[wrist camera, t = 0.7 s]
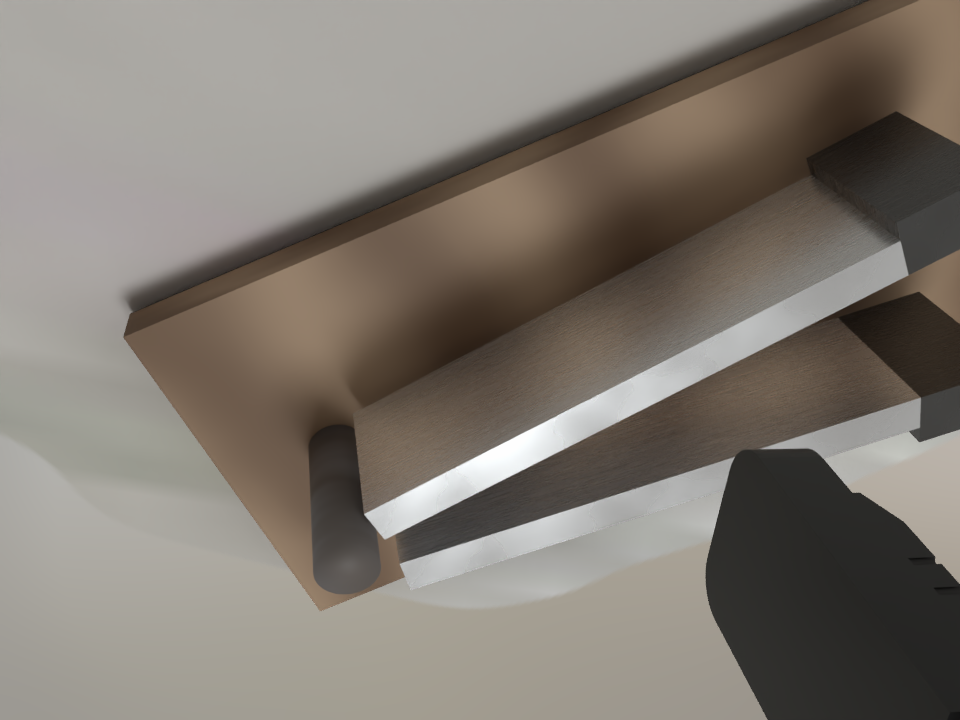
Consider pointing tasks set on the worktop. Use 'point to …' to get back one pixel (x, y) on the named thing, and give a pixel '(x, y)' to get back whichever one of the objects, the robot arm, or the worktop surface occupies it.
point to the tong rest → (513, 264)
